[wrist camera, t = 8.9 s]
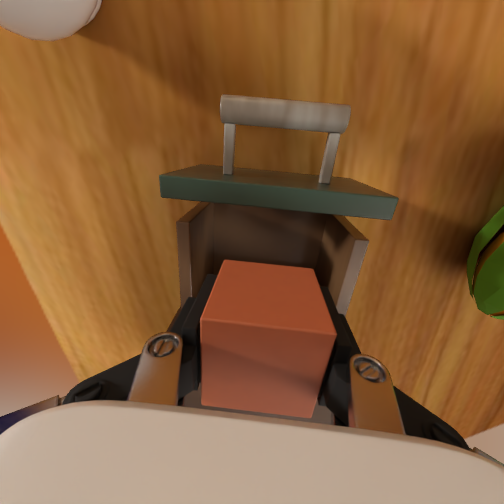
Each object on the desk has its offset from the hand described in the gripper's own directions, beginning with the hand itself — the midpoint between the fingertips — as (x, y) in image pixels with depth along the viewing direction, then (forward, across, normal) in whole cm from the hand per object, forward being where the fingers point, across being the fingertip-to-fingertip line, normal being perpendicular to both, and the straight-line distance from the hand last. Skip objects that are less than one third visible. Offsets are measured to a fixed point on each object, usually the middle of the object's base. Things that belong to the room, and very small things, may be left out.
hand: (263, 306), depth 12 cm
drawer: (+10, 0, -1) cm, 10 cm away
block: (+1, 0, 0) cm, 1 cm away
